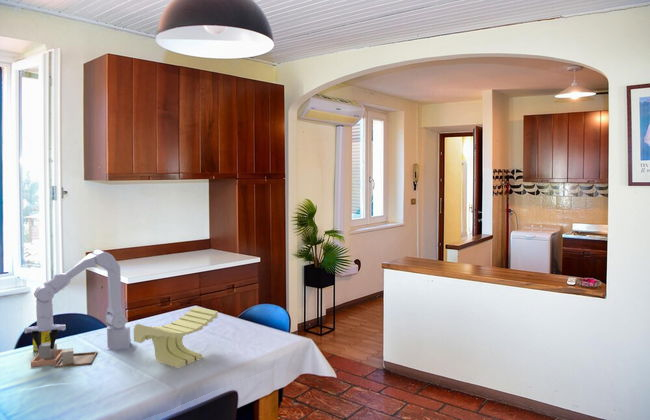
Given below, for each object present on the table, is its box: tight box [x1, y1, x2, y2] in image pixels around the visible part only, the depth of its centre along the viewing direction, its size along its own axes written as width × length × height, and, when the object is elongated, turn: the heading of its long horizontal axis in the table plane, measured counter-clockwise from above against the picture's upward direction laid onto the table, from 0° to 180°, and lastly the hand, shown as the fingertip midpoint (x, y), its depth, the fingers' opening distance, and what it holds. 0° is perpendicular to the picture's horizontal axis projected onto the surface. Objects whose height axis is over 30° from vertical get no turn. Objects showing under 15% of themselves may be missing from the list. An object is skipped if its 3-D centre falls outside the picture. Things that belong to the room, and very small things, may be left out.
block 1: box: [38, 342, 53, 359], centre depth 199 cm, size 4×4×5 cm
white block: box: [61, 347, 74, 365], centre depth 199 cm, size 4×4×5 cm
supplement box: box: [32, 331, 51, 353], centre depth 214 cm, size 6×6×11 cm
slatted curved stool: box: [133, 306, 219, 369], centre depth 204 cm, size 30×16×18 cm, turn 146°
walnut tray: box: [54, 351, 98, 369], centre depth 202 cm, size 13×13×1 cm
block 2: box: [44, 343, 58, 359], centre depth 204 cm, size 4×4×5 cm
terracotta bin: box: [30, 348, 63, 368], centre depth 202 cm, size 9×13×2 cm
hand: (46, 348), depth 199 cm, fingers closed on block 1, 4 cm apart
